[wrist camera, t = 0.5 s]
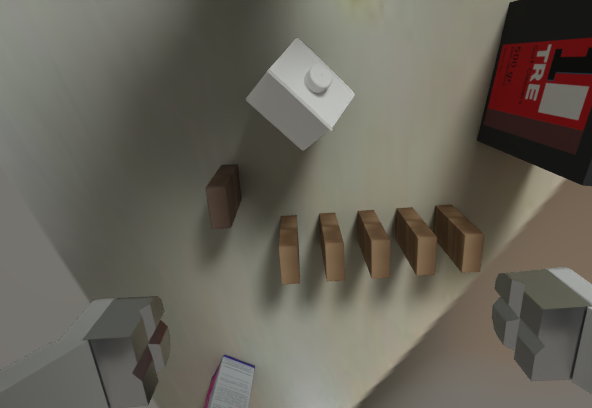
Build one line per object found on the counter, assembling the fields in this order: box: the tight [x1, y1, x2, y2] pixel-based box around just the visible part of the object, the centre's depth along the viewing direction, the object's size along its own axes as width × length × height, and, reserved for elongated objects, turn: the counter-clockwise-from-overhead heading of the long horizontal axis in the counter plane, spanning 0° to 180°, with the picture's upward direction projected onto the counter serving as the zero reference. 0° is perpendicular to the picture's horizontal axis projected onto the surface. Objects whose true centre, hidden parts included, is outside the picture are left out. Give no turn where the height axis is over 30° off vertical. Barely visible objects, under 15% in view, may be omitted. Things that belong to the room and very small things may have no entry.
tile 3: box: [320, 213, 345, 281], centre depth 51 cm, size 2×5×10 cm, turn 4°
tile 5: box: [396, 207, 437, 276], centre depth 51 cm, size 2×5×10 cm, turn 4°
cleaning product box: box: [477, 0, 592, 186], centre depth 39 cm, size 16×9×20 cm, turn 176°
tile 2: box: [279, 215, 300, 284], centre depth 51 cm, size 2×5×10 cm, turn 4°
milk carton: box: [246, 38, 355, 151], centre depth 40 cm, size 7×7×19 cm
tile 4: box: [358, 210, 390, 279], centre depth 51 cm, size 2×5×10 cm, turn 4°
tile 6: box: [434, 205, 484, 273], centre depth 51 cm, size 2×5×10 cm, turn 4°
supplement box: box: [204, 355, 255, 408], centre depth 59 cm, size 6×6×11 cm
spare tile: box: [206, 164, 242, 229], centre depth 49 cm, size 2×5×10 cm, turn 4°
